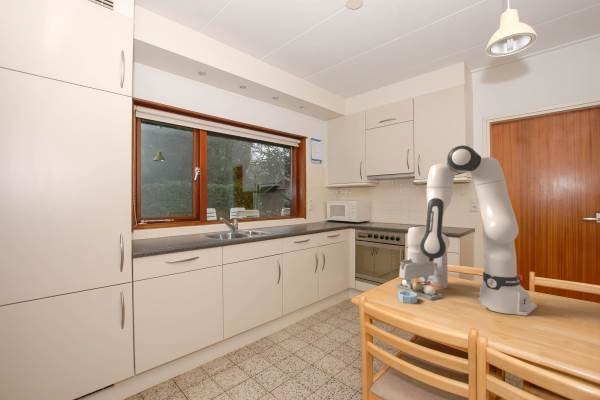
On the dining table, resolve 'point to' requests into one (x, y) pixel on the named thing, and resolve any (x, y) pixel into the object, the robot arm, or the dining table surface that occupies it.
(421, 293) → the carton
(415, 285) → the brown egg
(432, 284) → the cracker box
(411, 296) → the egg cup
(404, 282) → the cream egg
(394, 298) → the dining table surface
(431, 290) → the cream egg
